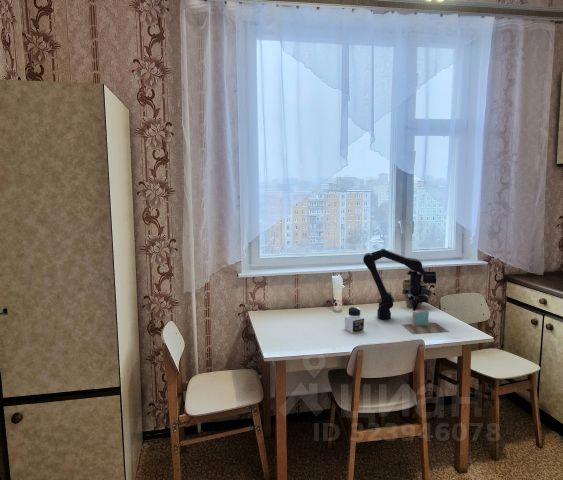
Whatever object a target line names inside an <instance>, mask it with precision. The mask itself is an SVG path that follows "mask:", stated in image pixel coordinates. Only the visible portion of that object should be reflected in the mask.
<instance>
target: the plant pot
mask: <svg viewBox="0 0 563 480" xmlns="http://www.w3.org/2000/svg"><path fill="white" fill-rule="evenodd" d="M408 284H410V278H409V279H408V278H407V279H404V280H402V288H403V289H410V286H408ZM421 285H424V286H425V287H426V289H428V285H429V284H428V283H424V281H422V279H421ZM403 295H404V294H403ZM423 295H424V296H426V295H425V294H423ZM407 297H408V293H406V295H404V299H405V300H404V301H405V303H406V307H407V308H408V307H409V309H411V308H412V307H411V304H410V302H409V300H408V298H407ZM422 304H423V303H418V306H417V308H416V310H418V309H420V308H421V306H422Z"/></svg>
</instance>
